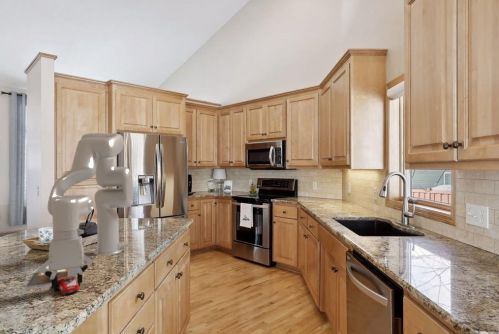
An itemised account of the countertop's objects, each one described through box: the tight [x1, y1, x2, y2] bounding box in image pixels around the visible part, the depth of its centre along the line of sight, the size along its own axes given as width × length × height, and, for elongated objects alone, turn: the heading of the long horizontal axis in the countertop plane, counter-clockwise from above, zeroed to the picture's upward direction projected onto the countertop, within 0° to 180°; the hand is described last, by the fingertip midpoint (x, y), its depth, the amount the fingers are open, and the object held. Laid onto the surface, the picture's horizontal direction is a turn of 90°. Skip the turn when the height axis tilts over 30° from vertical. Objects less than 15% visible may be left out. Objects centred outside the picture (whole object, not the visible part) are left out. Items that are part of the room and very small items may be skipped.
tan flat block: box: [37, 265, 71, 285], centre depth 110 cm, size 9×15×3 cm, turn 28°
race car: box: [57, 276, 80, 296], centre depth 98 cm, size 13×5×4 cm, turn 41°
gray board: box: [27, 267, 78, 289], centre depth 110 cm, size 14×19×1 cm
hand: (67, 286), depth 98 cm, fingers closed on race car, 6 cm apart
